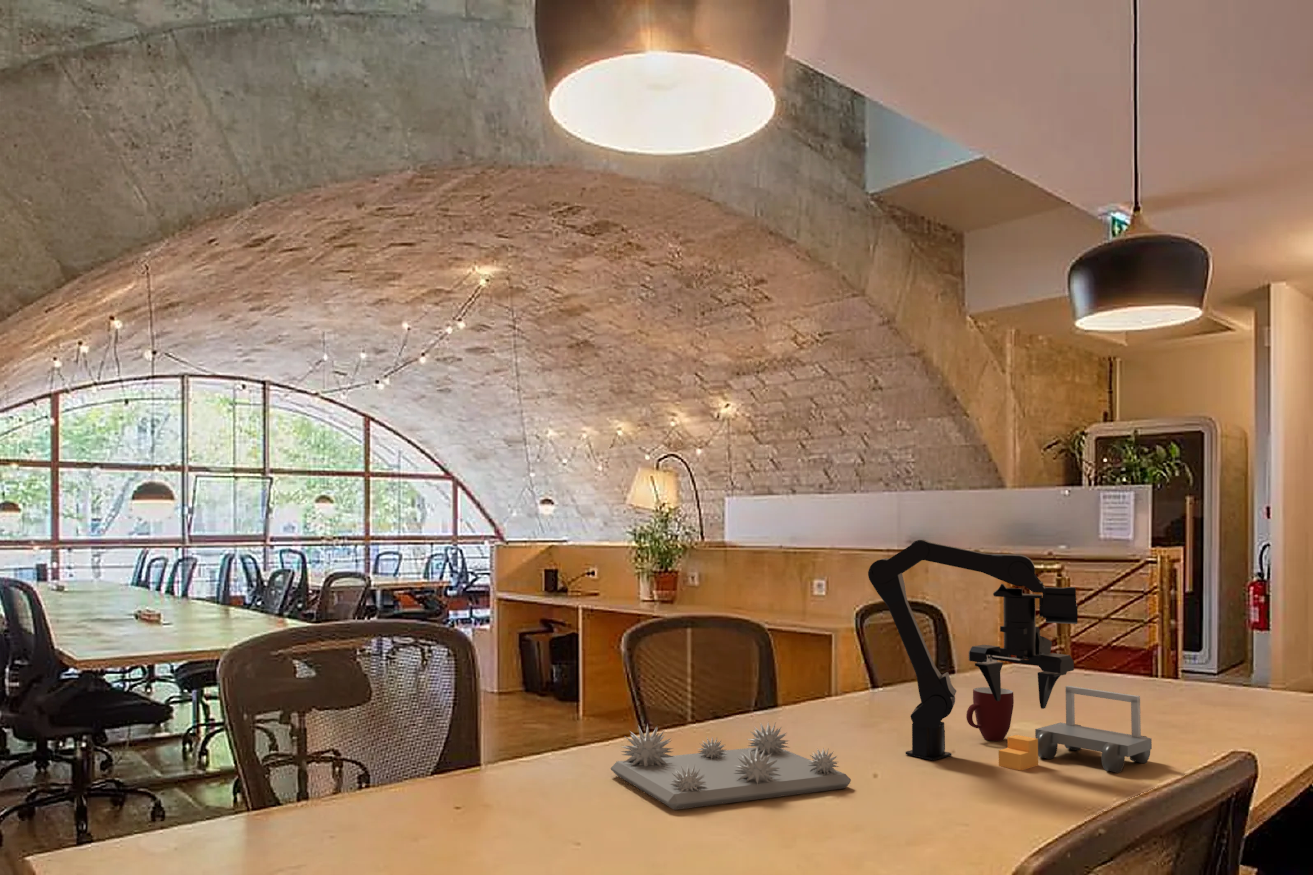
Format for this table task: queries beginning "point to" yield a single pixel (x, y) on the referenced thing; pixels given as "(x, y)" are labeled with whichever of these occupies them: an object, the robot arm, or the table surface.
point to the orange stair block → (1019, 753)
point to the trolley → (1096, 733)
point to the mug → (991, 713)
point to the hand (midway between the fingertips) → (1020, 704)
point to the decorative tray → (725, 771)
